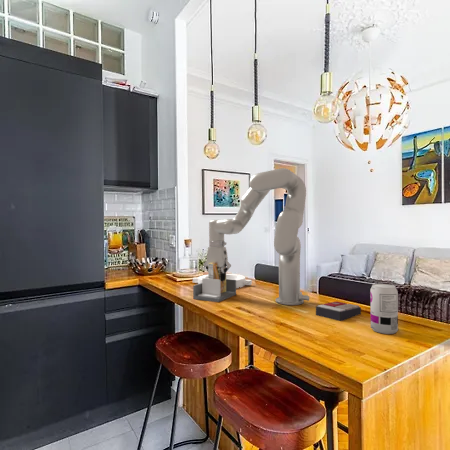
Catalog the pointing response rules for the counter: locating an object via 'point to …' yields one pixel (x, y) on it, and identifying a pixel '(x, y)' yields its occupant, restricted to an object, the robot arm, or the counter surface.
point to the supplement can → (384, 308)
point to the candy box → (216, 274)
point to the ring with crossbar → (239, 278)
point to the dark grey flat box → (338, 310)
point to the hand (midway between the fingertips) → (217, 279)
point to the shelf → (213, 290)
